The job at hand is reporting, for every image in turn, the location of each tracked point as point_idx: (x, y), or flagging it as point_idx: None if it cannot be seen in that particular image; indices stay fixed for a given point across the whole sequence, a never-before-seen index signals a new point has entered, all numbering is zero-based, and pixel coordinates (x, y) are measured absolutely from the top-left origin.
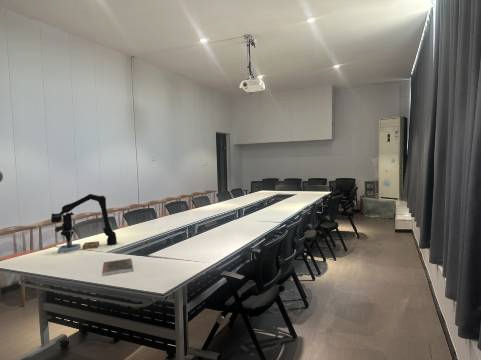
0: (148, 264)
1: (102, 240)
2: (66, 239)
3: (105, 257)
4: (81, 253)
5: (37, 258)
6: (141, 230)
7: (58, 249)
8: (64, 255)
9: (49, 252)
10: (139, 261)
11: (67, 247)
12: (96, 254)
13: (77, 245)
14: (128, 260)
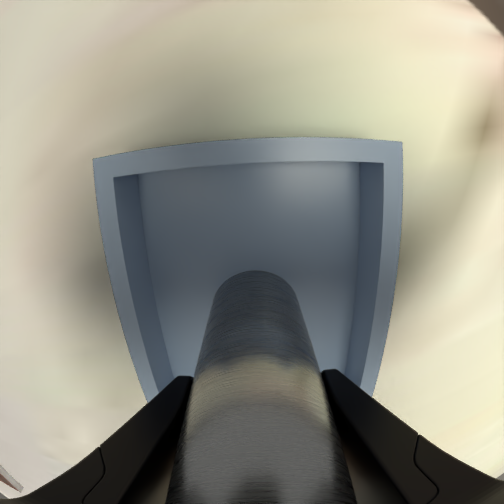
0: (14, 490)
1: (472, 434)
2: (200, 408)
3: (31, 467)
4: (78, 413)
5: (15, 27)
6: (495, 477)
7: (95, 169)
8: (22, 285)
9: (242, 4)
10: (25, 492)
11: (219, 292)
12: (64, 462)
13: (352, 380)
14: (4, 481)
